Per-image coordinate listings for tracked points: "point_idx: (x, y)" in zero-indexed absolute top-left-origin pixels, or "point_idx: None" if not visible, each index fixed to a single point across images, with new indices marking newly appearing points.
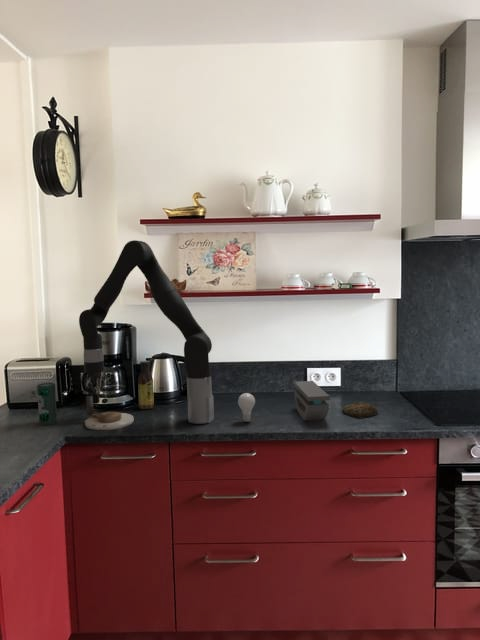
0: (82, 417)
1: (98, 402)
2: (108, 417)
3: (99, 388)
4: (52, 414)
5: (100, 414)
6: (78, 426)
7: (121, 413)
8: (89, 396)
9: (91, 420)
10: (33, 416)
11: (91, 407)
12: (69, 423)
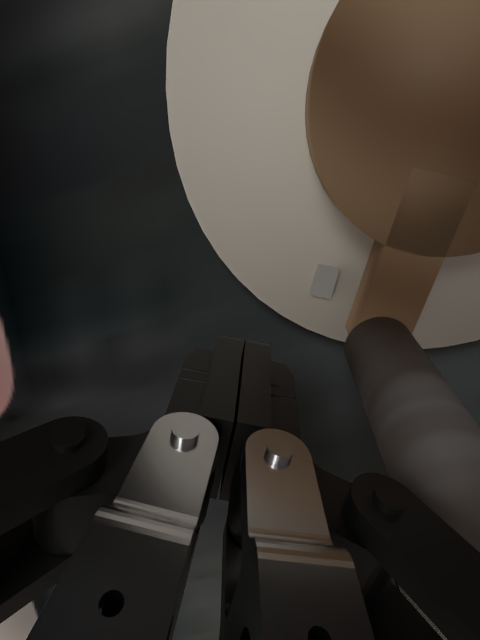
0: None
1: (247, 340)
2: None
3: (156, 495)
4: None
5: (419, 230)
6: (476, 369)
7: (195, 11)
8: (474, 513)
9: (432, 298)
10: (201, 630)
11: (436, 368)
12: (374, 446)
